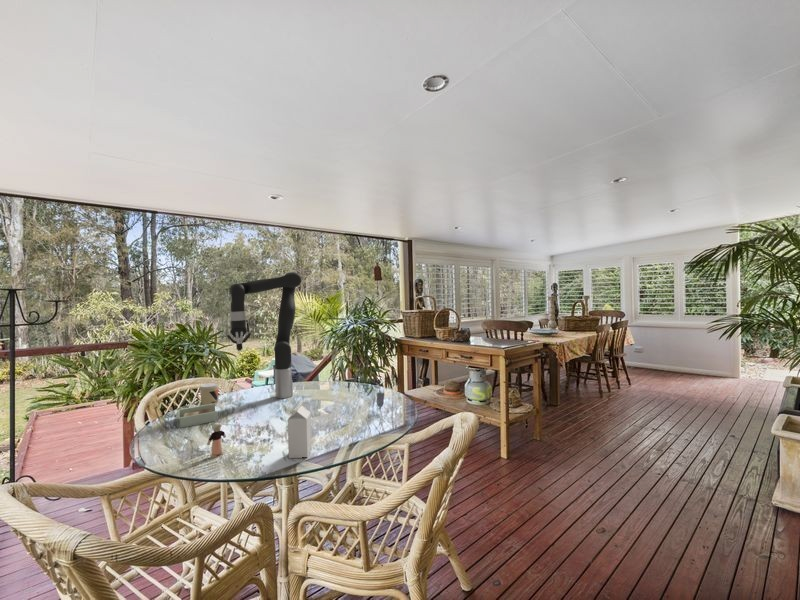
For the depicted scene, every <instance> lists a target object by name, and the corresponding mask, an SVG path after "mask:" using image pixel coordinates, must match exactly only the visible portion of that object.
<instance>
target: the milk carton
mask: <svg viewBox="0 0 800 600" xmlns="http://www.w3.org/2000/svg"><path fill="white" fill-rule="evenodd" d="M290 413H291V415H290V416H289V417H288V419H287V440H288V443H287V444H288V446H287V447H288V459H298V458H299V459H301V458H302V457H307V458H308V457H309V456H308V455H310V454H311V451H312V419H311V417H312V416H311V415H312V413H311V411H310V410H308V409H307V408H306V407H305V406H303V402H300V404H299V405H298V406H297V407H296V408H295V407H294V408H293V409H292V410H290ZM302 459H303V458H302Z"/></svg>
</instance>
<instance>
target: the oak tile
mask: <svg viewBox="0 0 800 600" xmlns="http://www.w3.org/2000/svg"><path fill="white" fill-rule="evenodd" d="M198 413H199V411H198V412H191V413H185V415H184V417H185V416H191V415H197V414H198Z"/></svg>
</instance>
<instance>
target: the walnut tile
mask: <svg viewBox="0 0 800 600" xmlns="http://www.w3.org/2000/svg"><path fill="white" fill-rule="evenodd" d="M208 412H212V408H211V409H204V410H199V413H198V414H202V413H208Z"/></svg>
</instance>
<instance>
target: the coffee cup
mask: <svg viewBox="0 0 800 600" xmlns="http://www.w3.org/2000/svg"><path fill="white" fill-rule="evenodd" d="M219 385H220V384H219V383H217V382H209V383H208V382H207V383H203V384H200V386H199V392H200V403H201V406H202V405H208V404H214V403H215V406H216V405H217V404H218V403H219V402H218V401H219ZM217 406H218V405H217ZM217 406H216V407H217Z"/></svg>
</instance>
